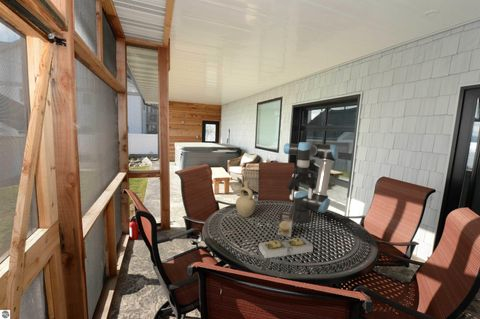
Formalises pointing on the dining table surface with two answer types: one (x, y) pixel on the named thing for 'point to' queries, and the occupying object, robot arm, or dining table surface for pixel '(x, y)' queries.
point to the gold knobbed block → (296, 242)
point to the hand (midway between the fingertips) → (300, 198)
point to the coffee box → (285, 223)
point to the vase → (245, 201)
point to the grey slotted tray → (285, 248)
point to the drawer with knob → (274, 244)
